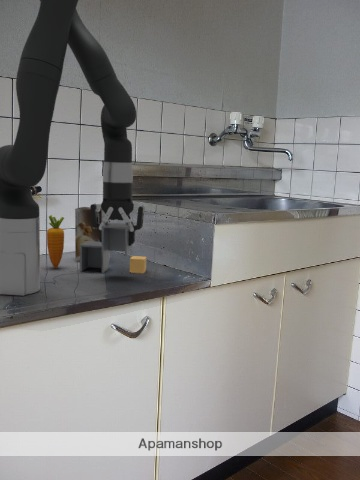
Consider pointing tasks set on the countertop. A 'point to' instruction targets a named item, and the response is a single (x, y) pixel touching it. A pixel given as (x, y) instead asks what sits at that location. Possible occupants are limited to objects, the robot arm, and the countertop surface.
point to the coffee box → (85, 228)
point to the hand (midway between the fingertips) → (117, 244)
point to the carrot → (55, 241)
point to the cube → (137, 264)
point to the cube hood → (115, 238)
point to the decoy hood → (93, 256)
